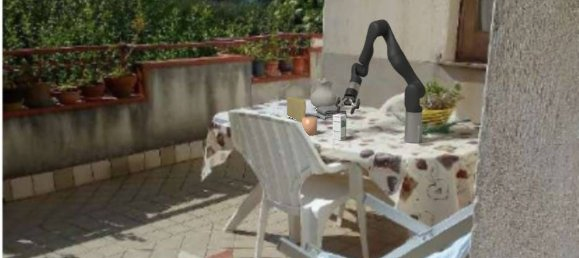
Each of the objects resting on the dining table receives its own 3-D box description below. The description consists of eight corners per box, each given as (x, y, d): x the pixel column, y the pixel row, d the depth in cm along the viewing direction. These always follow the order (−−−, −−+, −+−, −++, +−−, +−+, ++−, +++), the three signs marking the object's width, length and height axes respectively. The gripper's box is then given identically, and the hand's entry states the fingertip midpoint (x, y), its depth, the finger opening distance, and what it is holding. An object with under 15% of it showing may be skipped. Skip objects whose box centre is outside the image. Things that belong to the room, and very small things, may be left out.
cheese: (311, 123, 380) (311, 100, 377) (297, 123, 377) (297, 101, 374) (299, 117, 401) (299, 95, 398) (286, 118, 397) (286, 96, 394)
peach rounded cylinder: (319, 133, 347) (319, 117, 345) (313, 136, 339) (313, 119, 337) (305, 132, 351) (306, 116, 349) (299, 134, 343) (299, 118, 341)
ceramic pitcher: (308, 108, 441) (306, 76, 436) (333, 106, 443) (332, 74, 438) (313, 113, 420) (310, 79, 415) (339, 111, 422) (337, 77, 417)
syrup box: (340, 140, 328) (341, 115, 325) (332, 139, 332) (332, 114, 329) (346, 139, 333) (347, 114, 330) (338, 137, 336) (338, 113, 333)
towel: (314, 117, 402) (314, 106, 400) (337, 115, 409) (338, 104, 407) (324, 121, 388) (324, 109, 386) (348, 119, 395) (348, 107, 394)
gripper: (339, 86, 344) (331, 108, 336) (362, 88, 337) (354, 110, 330) (342, 94, 349) (334, 115, 342) (364, 96, 343) (357, 118, 335)
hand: (344, 113), depth 336 cm, fingers open, 8 cm apart
